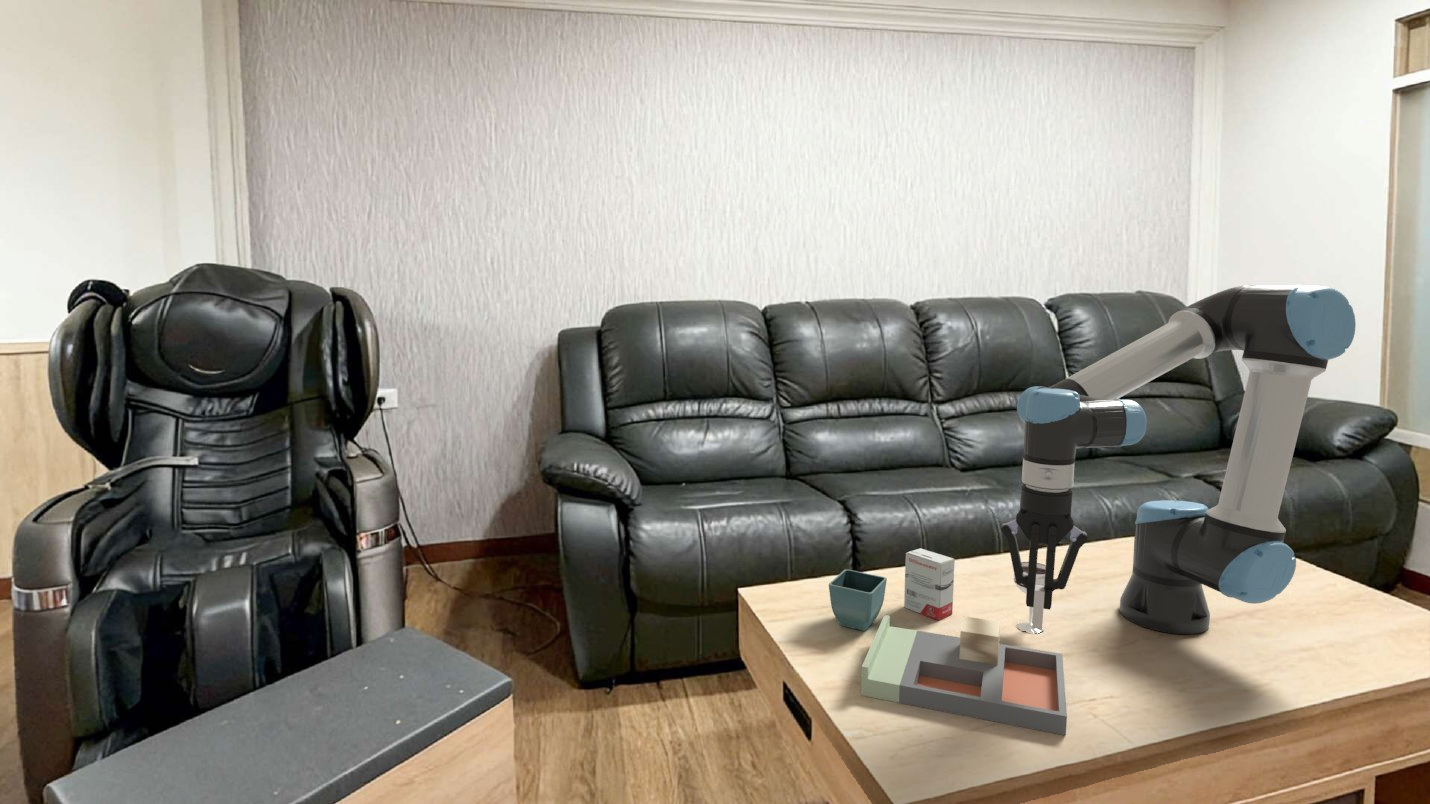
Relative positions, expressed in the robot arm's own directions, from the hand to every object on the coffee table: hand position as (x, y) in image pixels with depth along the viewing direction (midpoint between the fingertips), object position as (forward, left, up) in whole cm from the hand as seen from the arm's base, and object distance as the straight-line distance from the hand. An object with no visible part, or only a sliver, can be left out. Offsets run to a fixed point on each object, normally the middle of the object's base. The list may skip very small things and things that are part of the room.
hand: (1036, 625), depth 124 cm
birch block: (+9, 0, -7) cm, 11 cm away
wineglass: (+1, -20, -10) cm, 23 cm away
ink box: (+20, -21, -10) cm, 31 cm away
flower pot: (+32, -10, -10) cm, 35 cm away
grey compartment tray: (+11, +5, -10) cm, 15 cm away
